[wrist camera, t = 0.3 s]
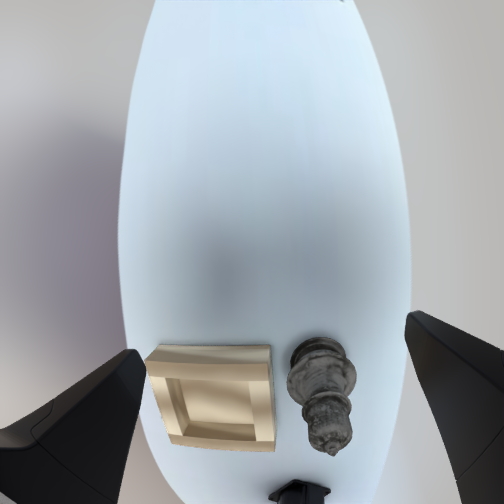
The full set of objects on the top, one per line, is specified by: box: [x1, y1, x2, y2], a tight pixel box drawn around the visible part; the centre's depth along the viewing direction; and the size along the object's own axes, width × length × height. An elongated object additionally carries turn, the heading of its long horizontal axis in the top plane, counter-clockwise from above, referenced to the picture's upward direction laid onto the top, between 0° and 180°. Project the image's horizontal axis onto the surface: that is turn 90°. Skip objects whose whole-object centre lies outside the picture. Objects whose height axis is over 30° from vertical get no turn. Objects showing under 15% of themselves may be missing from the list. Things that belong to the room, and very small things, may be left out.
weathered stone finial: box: [287, 337, 357, 456], centre depth 18 cm, size 6×6×12 cm
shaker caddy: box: [144, 345, 277, 452], centre depth 24 cm, size 11×11×4 cm
